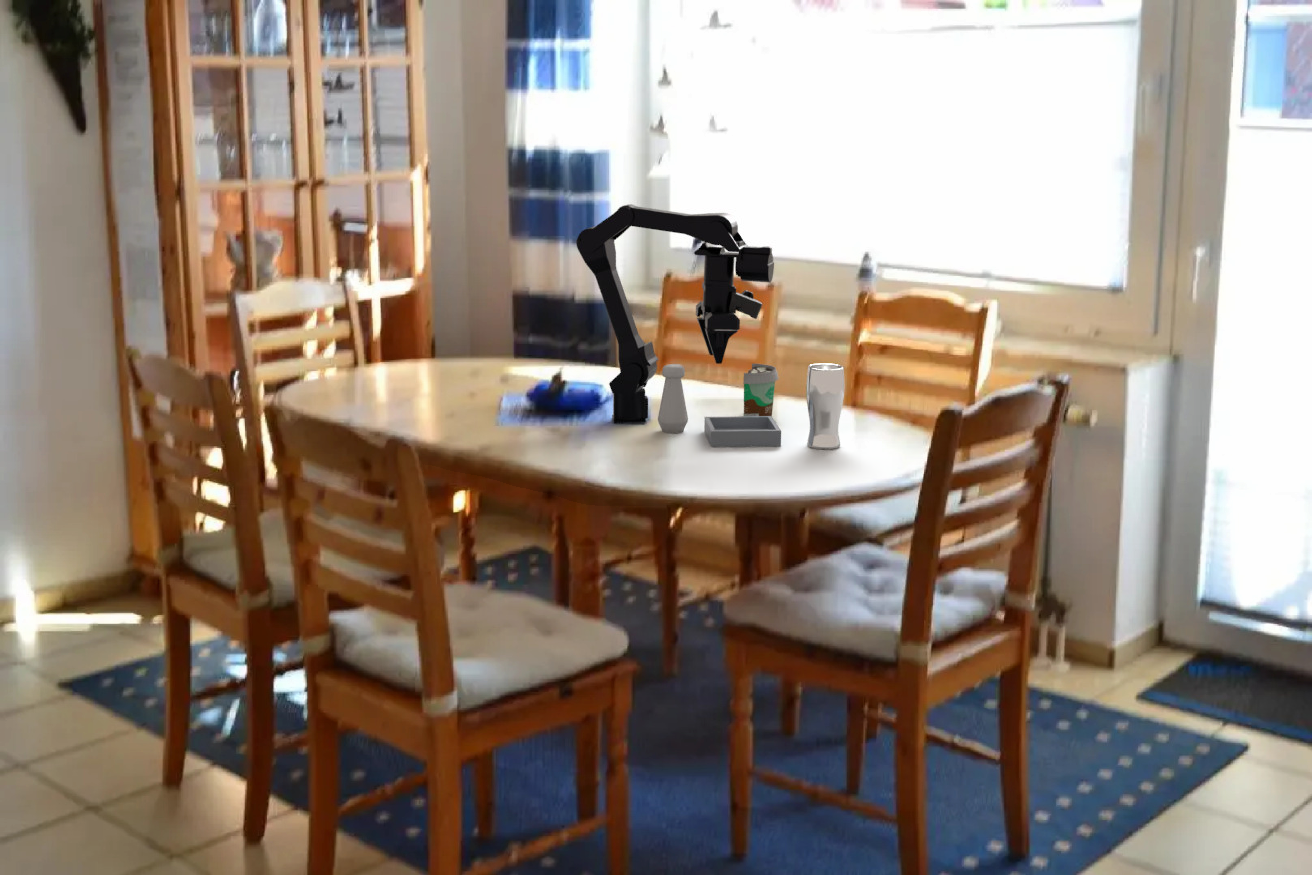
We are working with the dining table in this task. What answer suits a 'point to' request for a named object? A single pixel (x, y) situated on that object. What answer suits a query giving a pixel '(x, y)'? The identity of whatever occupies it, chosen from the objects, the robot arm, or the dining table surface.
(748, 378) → the food container
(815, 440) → the beer glass
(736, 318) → the robot arm
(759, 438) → the bin
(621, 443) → the dining table surface
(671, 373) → the salt shaker
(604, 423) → the dining table surface
